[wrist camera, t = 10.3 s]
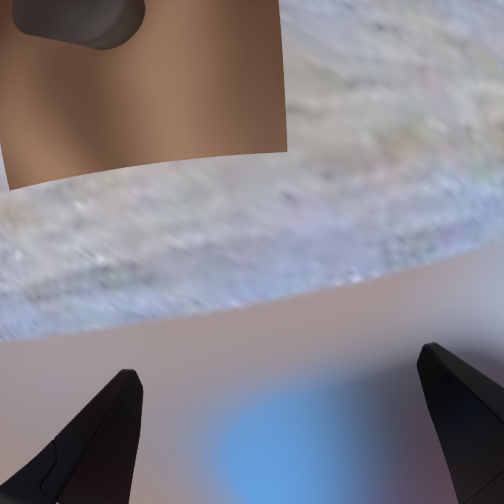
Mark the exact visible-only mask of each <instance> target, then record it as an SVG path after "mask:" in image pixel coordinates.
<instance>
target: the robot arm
mask: <svg viewBox="0 0 504 504" xmlns="http://www.w3.org/2000/svg"><path fill="white" fill-rule="evenodd" d="M417 370H418V374H419V377H420V381H421V385H422V388H423V392H424V396H425V400H426V403H427V407H428V410H429V413H430V415H431V418H432V421H433V424H434V427H435V430H436V432H437V435H438V438H439V441H440V444H441V447H442V450H443V453H444V456H445V459H446V463H447V466H448V469H449V472H450V475H451V479H452V482H453V486H454V489H455V493H456V496H457V500H458V504H504V388H503V387H502V386H500V385H499V384H497V383H496V382H494V381H493V380H491V379H490V378H488V377H487V376H485V375H484V374H482V373H481V372H479V371H478V370H477V369H475V368H474V367H472V366H471V365H469V364H468V363H466V362H465V361H463V360H461V359H460V358H459V357H457V356H456V355H454V354H452V353H451V352H449V351H448V350H446V349H445V348H443V347H442V346H440V345H439V344H437V343H435V342H432V343H428V344H425V345H424V346H423V347H422V350H421V352H420V355H419V358H418V361H417ZM142 403H143V386H142V384H141V382H140V379H139V377H138V375H137V373H136V371H135V370H133V369H122V370H121V371H119V373H118V374H117V375H116V376H115V377H114V378H113V379H112V380H111V381H110V382H109V383H108V384H107V385H106V386H105V387H104V388H103V389H102V390H101V391H100V392H99V393H98V394H97V395H96V396H95V397H94V398H93V399H92V400H91V401H90V402H89V403H88V404H87V405H86V406H85V407H84V408H83V409H82V410H81V411H80V412H79V413H78V414H77V415H76V416H75V417H74V419H72V420H71V422H69V423H68V424H67V426H66V427H64V428H63V430H62V431H61V432H60V433H59V434H58V435H57V436H56V437H55V438H54V440H52V441H51V442H50V443H49V444H48V445H47V446H46V447H45V448H44V449H43V450H42V451H41V452H40V453H39V454H38V455H37V456H36V457H34V458H33V459H32V460H31V461H30V462H29V463H28V464H26V465H25V466H24V467H23V468H21V469H20V470H19V471H18V472H17V473H15V474H14V475H13V476H12V477H10V478H9V479H8V480H7V481H6V482H4V483H3V484H2V485H0V504H129V497H130V491H131V484H132V478H133V471H134V466H135V460H136V454H137V449H138V444H139V438H140V429H141V416H142Z"/></svg>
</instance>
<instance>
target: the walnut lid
mask: <svg viewBox="0 0 504 504" xmlns="http://www.w3.org/2000/svg"><path fill="white" fill-rule="evenodd" d="M0 143H1V149H2V155H3V161H4V166H5V171H6V176H7V180H8V185H9V189H10V190H14V189H18V188H22V187H26V186H30V185H35V184H39V183H44V182H48V181H53V180H58V179H63V178H68V177H73V176H78V175H83V174H89V173H94V172H100V171H106V170H112V169H118V168H124V167H131V166H138V165H145V164H152V163H160V162H168V161H176V160H185V159H195V158H205V157H216V156H228V155H241V154H256V153H274V152H287V132H286V110H285V90H284V72H283V56H282V41H281V27H280V14H279V2H278V0H0Z"/></svg>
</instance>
